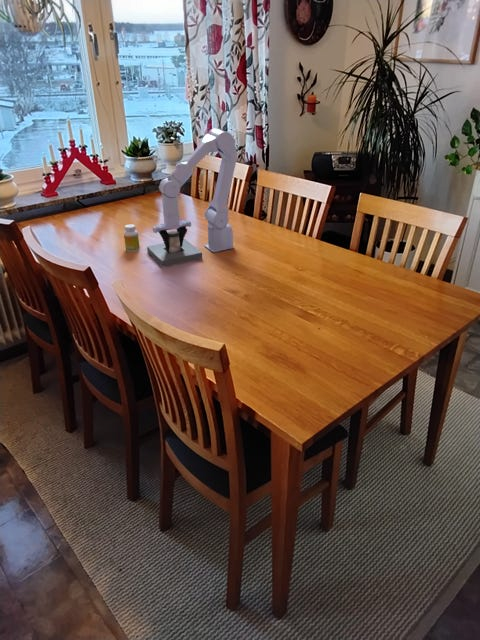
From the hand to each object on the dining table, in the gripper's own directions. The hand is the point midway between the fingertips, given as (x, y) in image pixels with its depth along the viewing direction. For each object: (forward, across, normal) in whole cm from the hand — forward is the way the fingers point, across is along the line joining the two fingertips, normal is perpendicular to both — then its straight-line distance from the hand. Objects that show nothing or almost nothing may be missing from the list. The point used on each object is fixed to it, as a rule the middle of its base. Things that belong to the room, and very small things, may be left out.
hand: (173, 247), depth 182 cm
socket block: (+3, 0, 0) cm, 3 cm away
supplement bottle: (+4, -12, +14) cm, 19 cm away
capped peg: (+2, 0, 0) cm, 3 cm away
